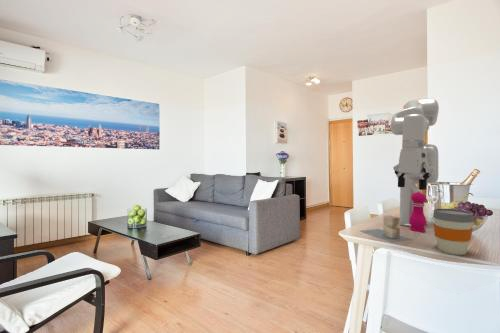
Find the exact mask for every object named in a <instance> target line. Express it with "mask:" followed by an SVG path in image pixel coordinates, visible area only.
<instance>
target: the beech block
mask: <svg viewBox="0 0 500 333" xmlns="http://www.w3.org/2000/svg"><path fill="white" fill-rule="evenodd" d="M382 225H383V228H382V230H383V236H384V237H387V238H390V239H397V238H400V236H401V234H400V233H401V232H400V231H401V225H400V216H396V215H392V214H390V215H383V224H382Z"/></svg>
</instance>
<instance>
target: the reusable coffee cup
mask: <svg viewBox="0 0 500 333" xmlns="http://www.w3.org/2000/svg"><path fill="white" fill-rule="evenodd" d="M432 217H433V220H434V223H433V231H434V237H435V238H436V247H437V249H438V250H440V251H441V252H442V253H445V254H449V255H460V256H461V255H466V254H467V251H468V246H469V242H470V241H471V238H472V233H473V228H472V226H473V222H474V219H475V218H474V212H471V211H468V210H463V209H462V210H461V209H456V208H435V209H433V215H432Z"/></svg>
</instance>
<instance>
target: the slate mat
mask: <svg viewBox="0 0 500 333" xmlns="http://www.w3.org/2000/svg"><path fill="white" fill-rule="evenodd" d="M359 232H361V233H363V234H366V235H369V236H372V237H375V238H378V239H380V240H384V241H386V242H389V243H392V244H393V243H400V242H401V243H402V242H407V241H414V239H412V238H409V237H406V236H403V235H400V238H397V239H390V238H387V237H384V236H383V229H380V228H373V229H366V230H365V229H363V230H359Z"/></svg>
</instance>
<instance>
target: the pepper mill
mask: <svg viewBox="0 0 500 333" xmlns="http://www.w3.org/2000/svg"><path fill="white" fill-rule="evenodd" d="M420 192H421V193H420ZM411 199H412V201H413V204H412V205H413V212H412V215H411V216H410V219H409V223H410V224H411V226H410V227H409V230H410V231H413V232H419V233H423V234H424V233H426V228H425V226H427V217H426V216H425V213H424V207H425V202H426V200H427V197H426V195H425V194H424V193H423V192H422V190H419V189H418V190H417V193H414V194H413V195H412V197H411ZM425 217H426V218H425Z"/></svg>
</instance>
